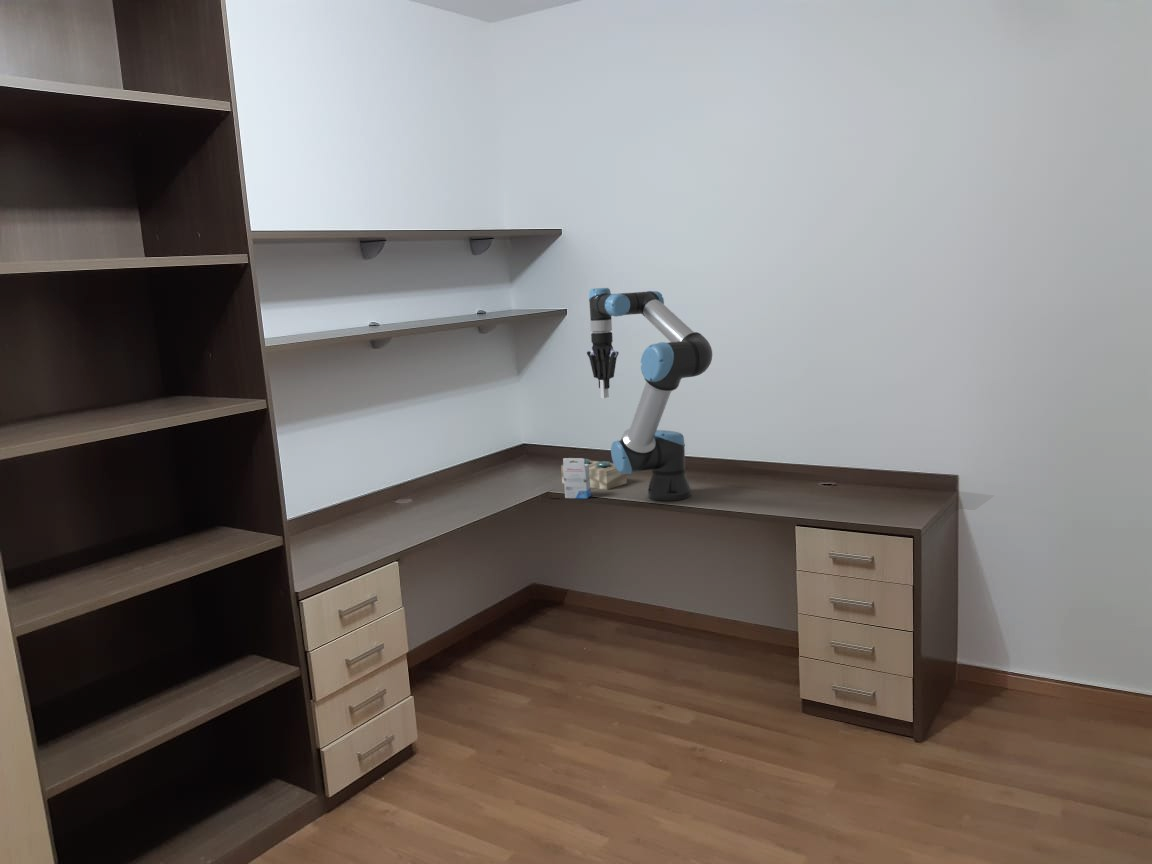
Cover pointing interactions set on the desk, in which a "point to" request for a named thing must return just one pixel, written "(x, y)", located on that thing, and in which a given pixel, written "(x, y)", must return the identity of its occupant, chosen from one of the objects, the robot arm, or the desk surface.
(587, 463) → the teal lidded jar
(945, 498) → the desk surface
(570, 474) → the ink box
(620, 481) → the socket block
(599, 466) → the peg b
